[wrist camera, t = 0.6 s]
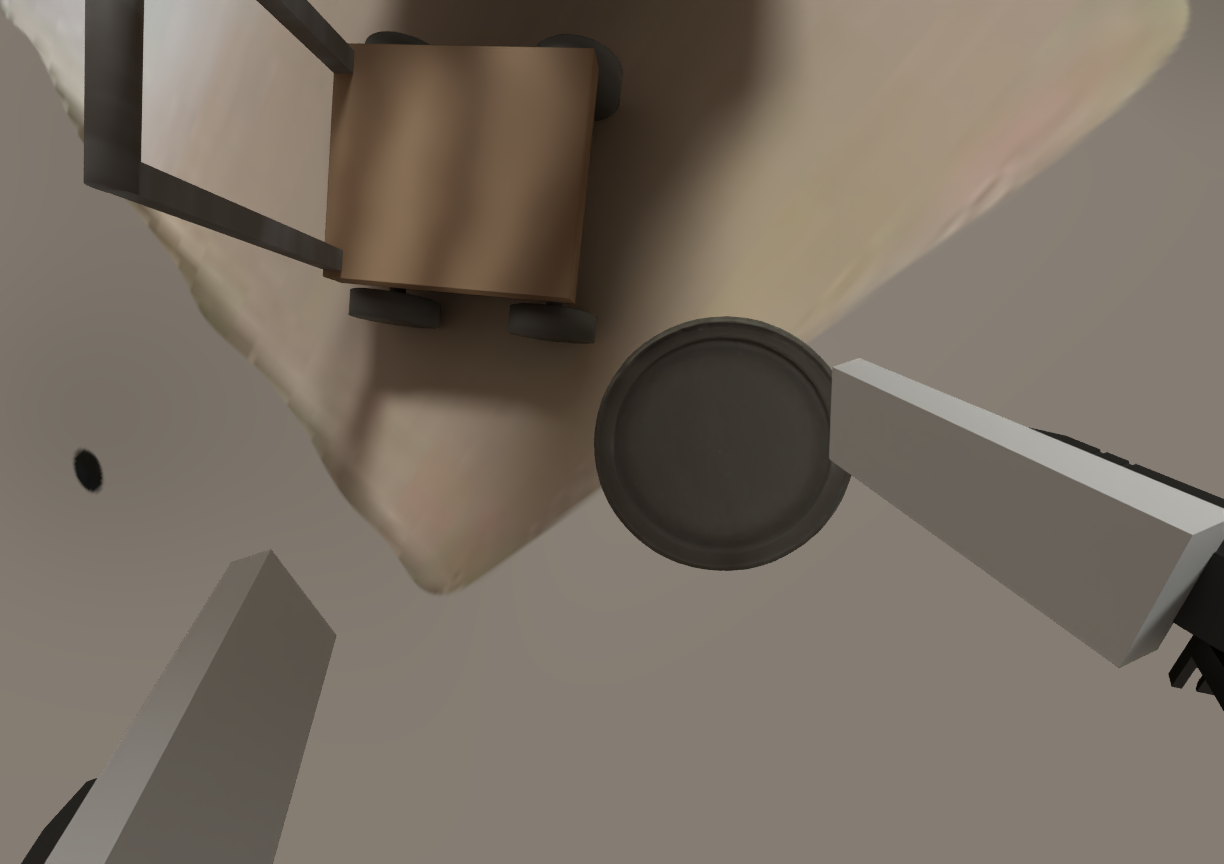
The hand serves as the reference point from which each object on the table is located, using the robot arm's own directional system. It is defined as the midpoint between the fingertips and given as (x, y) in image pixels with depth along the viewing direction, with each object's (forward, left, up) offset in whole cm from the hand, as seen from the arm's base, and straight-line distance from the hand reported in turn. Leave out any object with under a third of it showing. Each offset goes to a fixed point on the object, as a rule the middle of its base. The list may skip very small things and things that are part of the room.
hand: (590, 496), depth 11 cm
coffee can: (-1, +4, -23) cm, 23 cm away
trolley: (-14, -12, -22) cm, 29 cm away
